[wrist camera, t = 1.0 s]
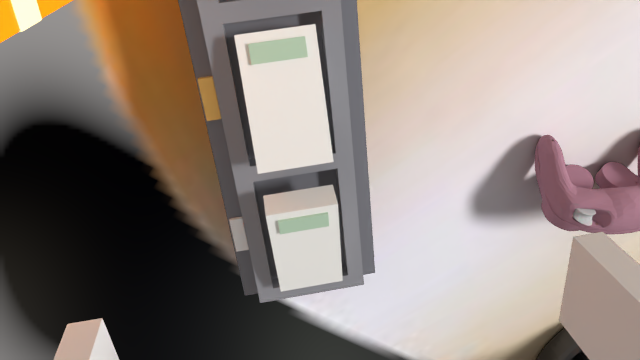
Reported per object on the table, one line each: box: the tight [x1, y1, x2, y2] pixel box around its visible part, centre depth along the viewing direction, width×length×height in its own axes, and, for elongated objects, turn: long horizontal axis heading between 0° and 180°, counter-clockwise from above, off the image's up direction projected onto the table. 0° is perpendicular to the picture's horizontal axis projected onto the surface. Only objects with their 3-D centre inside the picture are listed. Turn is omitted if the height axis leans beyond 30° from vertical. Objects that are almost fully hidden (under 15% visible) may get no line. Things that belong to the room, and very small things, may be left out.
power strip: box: [178, 0, 375, 303], centre depth 30 cm, size 28×9×5 cm, turn 6°
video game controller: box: [535, 135, 640, 234], centre depth 37 cm, size 10×5×7 cm, turn 90°
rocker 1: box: [234, 24, 334, 174], centre depth 27 cm, size 7×4×2 cm, turn 6°
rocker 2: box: [263, 185, 343, 292], centre depth 31 cm, size 7×4×2 cm, turn 6°
